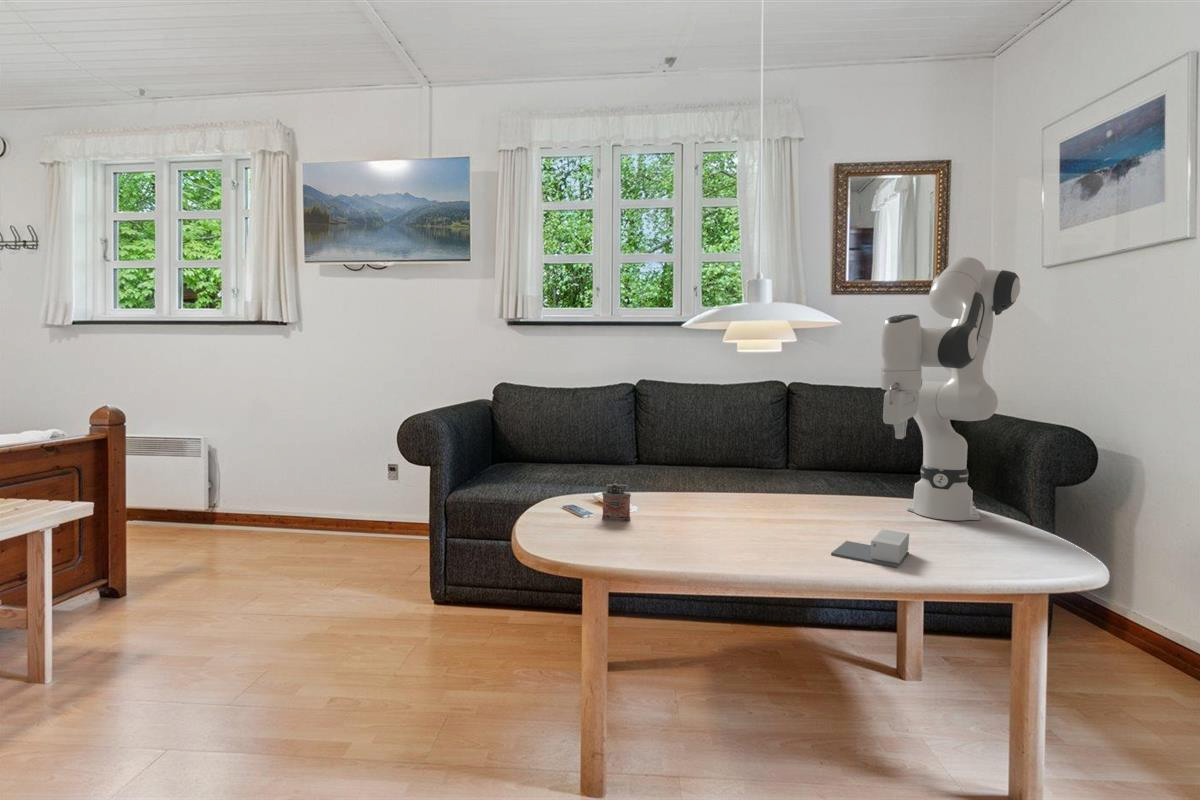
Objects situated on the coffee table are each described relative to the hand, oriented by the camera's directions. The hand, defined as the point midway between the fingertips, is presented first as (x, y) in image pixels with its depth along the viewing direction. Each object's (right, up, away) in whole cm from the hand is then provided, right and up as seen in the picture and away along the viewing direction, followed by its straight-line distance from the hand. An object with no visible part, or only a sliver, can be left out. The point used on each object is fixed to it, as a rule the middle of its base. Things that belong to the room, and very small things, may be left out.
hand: (900, 438), depth 150 cm
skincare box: (-4, -24, -5) cm, 25 cm away
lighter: (-69, -24, +21) cm, 76 cm away
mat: (-11, -26, -9) cm, 30 cm away
